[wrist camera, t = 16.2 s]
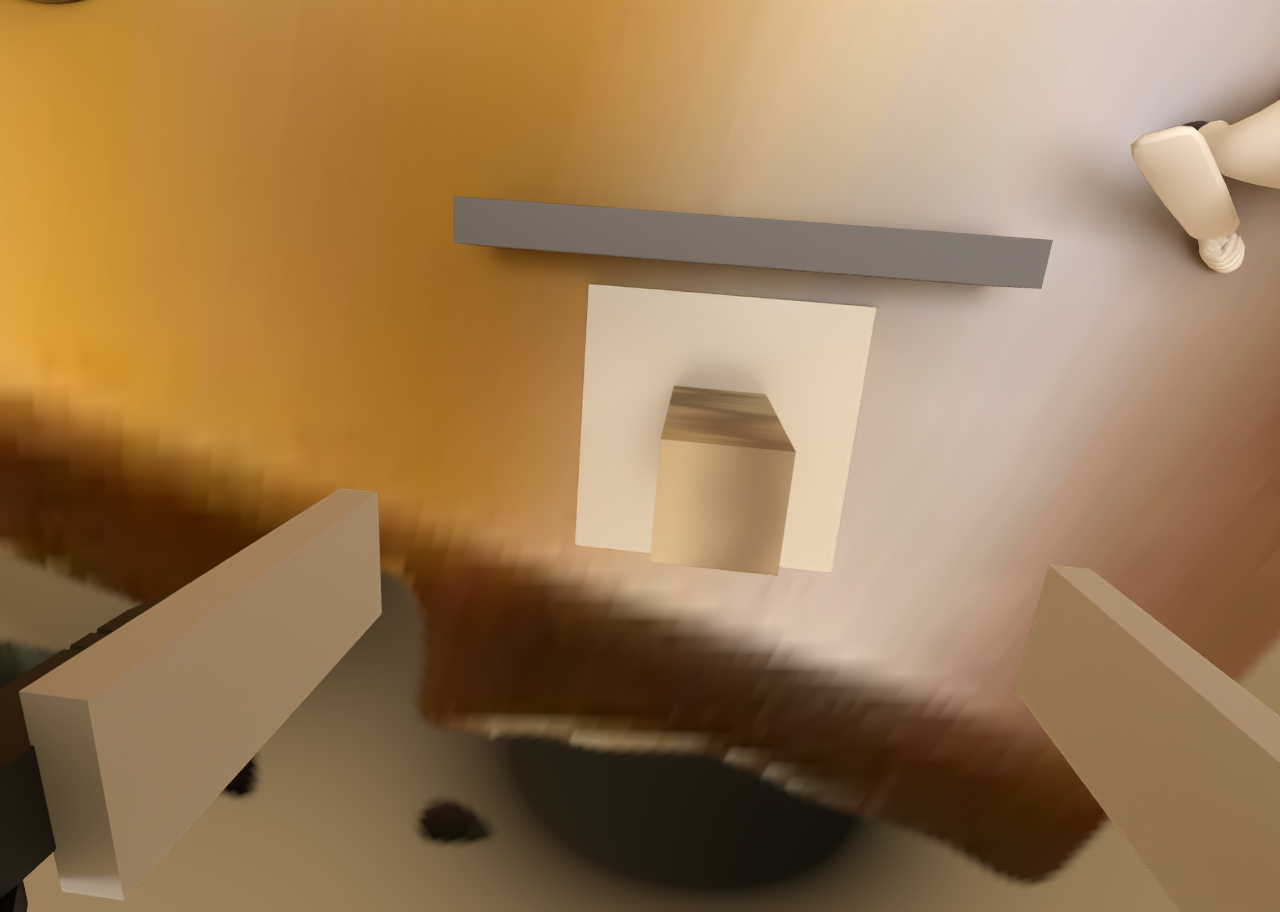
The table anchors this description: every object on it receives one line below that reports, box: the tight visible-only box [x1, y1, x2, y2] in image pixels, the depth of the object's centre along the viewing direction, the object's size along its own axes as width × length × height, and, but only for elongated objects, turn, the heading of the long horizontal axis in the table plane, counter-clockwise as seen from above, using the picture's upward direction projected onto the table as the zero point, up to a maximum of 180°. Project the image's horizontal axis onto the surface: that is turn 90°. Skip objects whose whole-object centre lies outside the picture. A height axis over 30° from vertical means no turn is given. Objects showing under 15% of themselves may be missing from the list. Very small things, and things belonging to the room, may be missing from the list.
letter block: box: [650, 386, 796, 576], centre depth 31 cm, size 5×5×12 cm
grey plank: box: [454, 196, 1053, 289], centre depth 32 cm, size 26×2×6 cm, turn 86°
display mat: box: [575, 284, 876, 573], centre depth 37 cm, size 15×15×1 cm
